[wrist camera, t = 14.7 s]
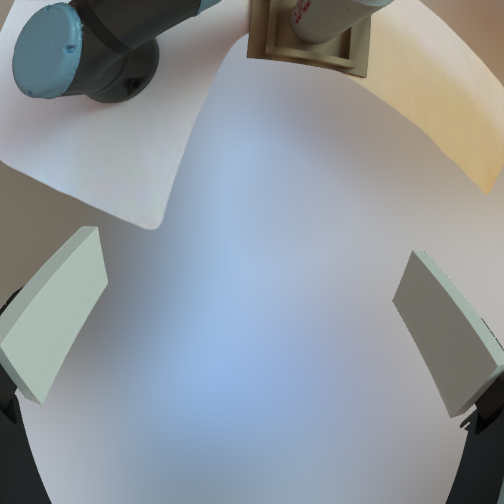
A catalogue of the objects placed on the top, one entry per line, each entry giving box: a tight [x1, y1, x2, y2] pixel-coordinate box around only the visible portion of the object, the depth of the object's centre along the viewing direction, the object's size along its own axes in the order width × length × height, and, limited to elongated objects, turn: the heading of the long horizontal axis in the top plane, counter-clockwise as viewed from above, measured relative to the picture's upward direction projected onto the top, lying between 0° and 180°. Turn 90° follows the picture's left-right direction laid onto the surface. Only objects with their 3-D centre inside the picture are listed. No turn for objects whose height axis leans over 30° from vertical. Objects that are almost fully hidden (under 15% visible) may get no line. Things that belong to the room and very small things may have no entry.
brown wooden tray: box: [247, 0, 371, 78], centre depth 33 cm, size 20×16×2 cm
